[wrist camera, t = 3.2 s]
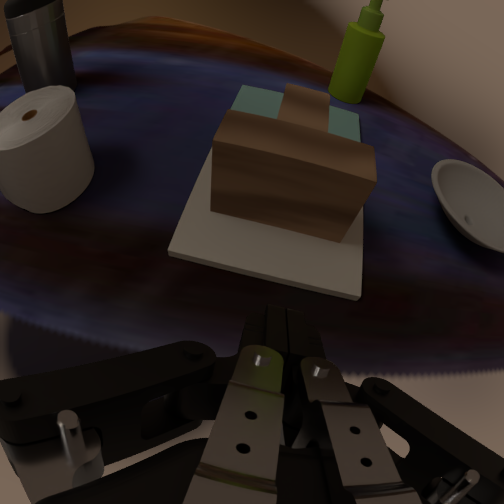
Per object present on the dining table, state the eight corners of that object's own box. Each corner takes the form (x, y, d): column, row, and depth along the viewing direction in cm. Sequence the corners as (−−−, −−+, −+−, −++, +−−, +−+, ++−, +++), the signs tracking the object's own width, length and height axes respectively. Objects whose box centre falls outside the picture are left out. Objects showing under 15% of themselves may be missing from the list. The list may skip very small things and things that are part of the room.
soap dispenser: (335, 80, 51) (365, -16, 34) (366, 99, 49) (404, 1, 32) (316, 86, 48) (346, -19, 31) (349, 107, 46) (388, -1, 29)
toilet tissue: (111, 173, 34) (93, 102, 25) (29, 239, 28) (-13, 176, 20) (71, 138, 36) (53, 76, 28) (0, 191, 31) (-32, 134, 22)
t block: (339, 243, 31) (377, 182, 23) (210, 211, 31) (212, 140, 23) (343, 165, 37) (368, 106, 29) (237, 138, 37) (245, 74, 29)
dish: (492, 202, 41) (509, 183, 36) (514, 281, 33) (537, 264, 29) (406, 169, 40) (421, 143, 36) (421, 257, 33) (445, 233, 29)
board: (356, 300, 29) (360, 296, 28) (168, 255, 29) (167, 250, 28) (356, 118, 45) (358, 113, 44) (242, 89, 45) (242, 84, 44)
